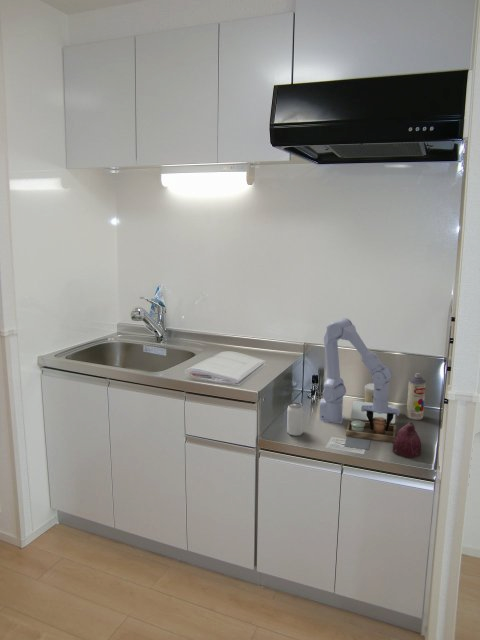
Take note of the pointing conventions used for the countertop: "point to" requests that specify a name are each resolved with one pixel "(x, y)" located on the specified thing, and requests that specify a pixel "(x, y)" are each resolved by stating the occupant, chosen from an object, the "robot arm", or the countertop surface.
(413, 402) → the aerosol can
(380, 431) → the pot
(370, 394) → the coffee cup
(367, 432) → the brown rectangular frame
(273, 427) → the countertop surface
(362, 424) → the glazed pot
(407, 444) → the vegetable
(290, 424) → the can
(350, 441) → the slate mat
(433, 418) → the countertop surface
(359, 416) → the lid
